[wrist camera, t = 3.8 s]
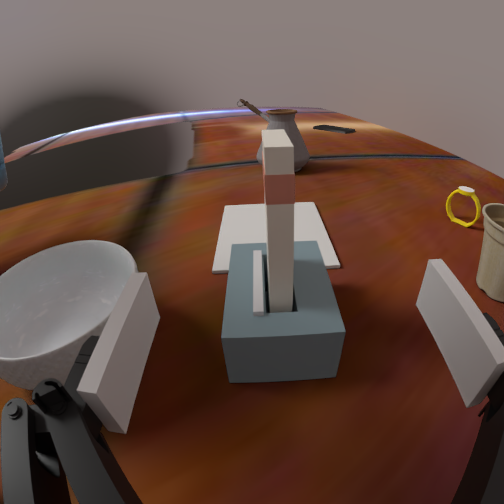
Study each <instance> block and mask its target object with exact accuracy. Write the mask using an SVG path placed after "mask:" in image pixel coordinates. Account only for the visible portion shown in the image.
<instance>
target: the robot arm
mask: <svg viewBox="0 0 504 504" xmlns="http://www.w3.org/2000/svg"><path fill="white" fill-rule="evenodd" d="M6 185H7V174H6V168H5V163H4V155H3V149H2V141H1V134H0V191H2V190H3V189H4V188H5V187H6ZM416 306H417V307H418V309H419V311H420V313H421V315H422V316H423V318H424V320H425V322H426V324H427V326H428V328H429V330H430V332H431V333H432V335H433V337H434V339H435V341H436V343H437V345H438V347H439V349H440V351H441V353H442V355H443V357H444V359H445V361H446V363H447V365H448V368H449V370H450V372H451V374H452V376H453V378H454V380H455V383H456V385H457V387H458V389H459V392H460V394H461V396H462V398H463V401H464V403H465V405H466V408H468V407H471V406H474V405H477V404H480V403H481V402H482V401H483V399H484V398H485V397H486V395H487V396H488V398H489V402H488V403H487V404H486V405H485V407H484V408H483V409H482V410H481V411H480V413H479V415H478V416H479V417H480V416H481V415H482V414H483V413H484V416H483V419H482V423H481V426H480V430H479V433H478V436H477V439H476V442H475V445H474V448H473V451H472V454H471V457H470V460H469V462H468V465H467V468H466V470H465V473H464V475H463V478H462V480H461V482H460V485H459V487H458V489H457V492H456V494H455V496H454V498H453V500H452V503H451V504H504V333H503V332H502V330H500V327H499V326H498V324H497V323H496V321H495V320H494V319H493V318H492V317H491V316H489V315H488V314H487V313H481V311H480V310H479V308H478V307H477V306H476V304H475V303H474V301H473V300H472V299H471V297H470V296H469V294H468V293H467V292H466V290H465V289H464V288H463V286H462V285H461V284H460V282H459V281H458V280H457V278H456V277H455V276H454V274H453V273H452V272H451V271H450V269H449V268H448V267H447V265H446V264H445V263H444V262H443V260H442V259H432V260H429V261H428V264H427V268H426V272H425V275H424V279H423V282H422V286H421V289H420V293H419V296H418V299H417V302H416ZM159 320H160V316H159V312H158V309H157V306H156V302H155V299H154V296H153V292H152V289H151V285H150V282H149V278H148V275H147V272H143V273H131V275H130V277H129V279H128V281H127V283H126V285H125V287H124V289H123V291H122V293H121V295H120V297H119V299H118V301H117V303H116V305H115V307H114V309H113V311H112V313H111V315H110V317H109V319H108V321H107V323H106V325H105V327H104V329H103V331H102V334H101V336H93V335H91V336H90V337H89V338H88V339H87V340H86V341H85V342H84V343H83V345H82V347H81V349H80V351H79V353H78V356H77V357H76V359H75V363H74V364H73V366H72V368H71V370H70V372H69V375H68V377H67V379H66V381H65V383H64V386H63V385H62V383H61V382H60V381H59V380H57V379H55V378H48V379H45V380H42V381H41V382H40V383H38V384H37V386H36V387H35V388H34V390H33V393H32V400H33V402H34V403H35V404H36V405H28V404H27V403H26V402H25V401H24V400H23V399H21V398H14V399H11V400H9V401H8V402H7V403H6V404H5V406H4V408H3V411H2V420H1V471H2V487H3V498H4V504H71V500H70V495H69V491H68V485H67V480H66V476H67V478H68V480H69V483H70V485H71V487H72V489H73V492H74V494H75V496H76V498H77V500H78V502H79V504H143V503H142V502H141V500H140V499H139V497H138V496H137V494H136V492H135V491H134V489H133V488H132V486H131V484H130V483H129V481H128V480H127V478H126V476H125V475H124V473H123V471H122V470H121V468H120V466H119V464H118V463H117V461H116V459H115V457H114V455H113V454H112V452H111V450H110V448H109V446H108V444H107V442H106V440H105V438H104V436H103V435H102V433H101V432H100V430H101V427H102V424H103V425H104V426H105V428H106V429H107V430H108V431H111V432H117V433H123V434H126V432H127V428H128V424H129V421H130V417H131V413H132V409H133V406H134V402H135V399H136V395H137V392H138V388H139V385H140V381H141V378H142V374H143V371H144V367H145V364H146V361H147V358H148V354H149V351H150V348H151V345H152V341H153V338H154V335H155V332H156V329H157V326H158V323H159ZM65 473H66V474H65Z"/></svg>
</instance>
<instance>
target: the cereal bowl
mask: <svg viewBox="0 0 504 504" xmlns="http://www.w3.org/2000/svg"><path fill="white" fill-rule="evenodd" d="M131 273H139V272H138V269H137V265H136V262H135V261H134V259H133V257H132V255H131V254H130V253H129V252H128V251H127V250H126V249H125V248H123V247H122V246H120V245H117V244H115V243H112V242H107V241H99V240H85V241H76V242H70V243H66V244H61V245H58V246H54V247H51V248H48V249H46V250H43V251H40V252H38V253H36V254H34V255H32V256H30V257H28V258H26V259H24V260H22V261H21V262H19V263H18V264H16V265H14V266H13V267H12V268H10V269H9V270H7V271H6V272H5V273H3V274H2V275H1V276H0V377H1V378H2V379H4V380H5V381H7V382H8V383H9V384H13V385H14V386H17V387H20V388H23V389H27V390H34V388H35V387H36V386H37V384H38V383H40V382H41V381H42V380H45V379H48V378H55V379H57V380H59V381H60V382H61V383H62V385H63V386H64V383H65V381H66V379H67V377H68V375H69V372H70V370H71V368H72V366H73V364H74V363H75V359H76V357H77V356H78V353H79V351H80V349H81V347H82V345H83V343H84V342H85V341H86V340H87V339H88V338H89V337H90V336H91V335H93V336H101V334H102V331H103V329H104V327H105V325H106V323H107V321H108V319H109V317H110V315H111V313H112V311H113V309H114V307H115V305H116V303H117V301H118V299H119V297H120V295H121V293H122V291H123V289H124V287H125V285H126V283H127V281H128V279H129V277H130V275H131Z"/></svg>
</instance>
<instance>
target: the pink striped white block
mask: <svg viewBox="0 0 504 504" xmlns="http://www.w3.org/2000/svg"><path fill="white" fill-rule="evenodd" d="M262 148H263V151H262V163H263V180H264V193H265V218H266V244H267V273H268V301H269V313H280V312H292V307H293V268H294V204H295V173H294V146H293V144H292V143H291V141H290V139H289V137H288V136H287V134H286V132H285V130H284V129H276V130H262Z"/></svg>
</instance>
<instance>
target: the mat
mask: <svg viewBox="0 0 504 504" xmlns="http://www.w3.org/2000/svg"><path fill="white" fill-rule="evenodd" d="M294 241H317V243H318V246H319V249H320V252H321V255H322V258H323V261H324V264H325V267H326V269H330V268H340V264H339V261H338V259H337V256H336V254H335V251H334V249H333V246H332V244H331V241H330V239H329V237H328V234H327V232H326V229H325V227H324V225H323V222H322V220H321V218H320V215H319V213H318V211H317V208H316V206H315V204H314V202H300V203H295V204H294ZM246 243H266V218H265V204H250V205H230V206H225V209H224V214H223V218H222V223H221V228H220V233H219V238H218V243H217V248H216V253H215V258H214V264H213V269H212V273H213V274H218V273H228V272H229V263H230V255H231V247H232V244H246Z"/></svg>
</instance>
